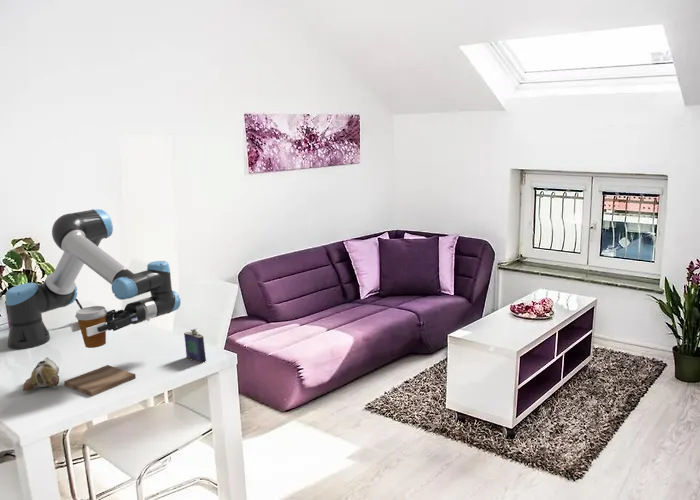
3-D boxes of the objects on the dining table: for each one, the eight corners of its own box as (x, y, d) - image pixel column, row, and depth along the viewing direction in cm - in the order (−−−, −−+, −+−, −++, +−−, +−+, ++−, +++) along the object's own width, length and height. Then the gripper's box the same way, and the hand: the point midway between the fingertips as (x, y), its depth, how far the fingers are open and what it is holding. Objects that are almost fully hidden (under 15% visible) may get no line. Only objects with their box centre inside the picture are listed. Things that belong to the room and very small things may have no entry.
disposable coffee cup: (99, 350, 192) (94, 314, 189) (73, 349, 194) (68, 314, 191) (116, 340, 201) (112, 305, 199) (91, 339, 203) (86, 305, 201)
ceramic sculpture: (63, 350, 206) (53, 369, 192) (67, 373, 208) (58, 393, 194) (29, 355, 203) (17, 374, 189) (33, 378, 206) (22, 398, 192)
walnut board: (64, 385, 198) (64, 381, 198) (108, 368, 211) (107, 364, 211) (92, 396, 189) (91, 391, 189) (135, 378, 202) (135, 374, 201)
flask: (184, 357, 218) (181, 327, 216) (192, 355, 221) (189, 325, 218) (201, 363, 212) (198, 332, 210) (208, 361, 214) (206, 330, 212)
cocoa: (99, 318, 272) (95, 292, 269) (102, 321, 266) (98, 295, 264) (76, 322, 267) (72, 296, 264) (78, 325, 261) (75, 299, 259)
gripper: (160, 325, 205) (99, 346, 187) (123, 317, 217) (63, 335, 199) (157, 304, 204) (96, 323, 186) (121, 297, 216) (60, 314, 198)
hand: (79, 330), depth 192 cm, fingers closed on disposable coffee cup, 8 cm apart
